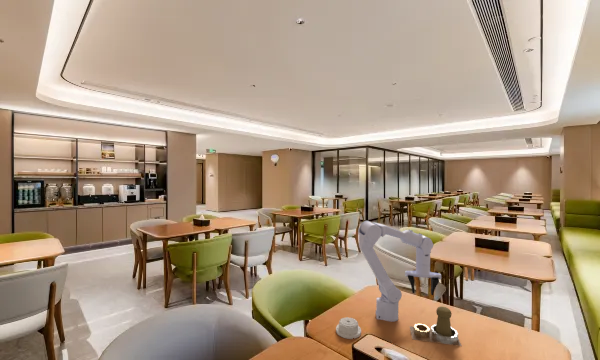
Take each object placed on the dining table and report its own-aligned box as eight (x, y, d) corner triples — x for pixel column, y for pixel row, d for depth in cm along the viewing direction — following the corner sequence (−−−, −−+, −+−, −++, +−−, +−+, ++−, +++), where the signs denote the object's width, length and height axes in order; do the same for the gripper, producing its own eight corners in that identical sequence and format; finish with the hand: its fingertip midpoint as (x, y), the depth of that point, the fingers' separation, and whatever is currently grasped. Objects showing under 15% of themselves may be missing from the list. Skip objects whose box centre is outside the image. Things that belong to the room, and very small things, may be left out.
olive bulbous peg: (455, 341, 107) (455, 312, 107) (438, 340, 108) (438, 311, 107) (448, 331, 113) (448, 304, 113) (432, 331, 114) (432, 304, 113)
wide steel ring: (433, 342, 107) (433, 335, 107) (429, 328, 116) (429, 322, 115) (460, 345, 104) (460, 339, 104) (453, 331, 113) (454, 325, 113)
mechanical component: (366, 332, 115) (345, 322, 123) (366, 321, 115) (345, 312, 122) (351, 343, 108) (331, 332, 116) (351, 331, 108) (331, 321, 115)
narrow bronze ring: (415, 337, 110) (415, 330, 110) (413, 328, 115) (413, 322, 115) (430, 339, 109) (430, 332, 108) (428, 330, 114) (428, 324, 114)
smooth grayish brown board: (412, 341, 109) (412, 339, 109) (409, 328, 117) (409, 326, 117) (461, 348, 104) (461, 346, 104) (455, 334, 113) (455, 332, 113)
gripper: (438, 261, 128) (438, 291, 128) (404, 258, 131) (404, 287, 132) (442, 266, 121) (442, 298, 122) (406, 264, 124) (405, 294, 125)
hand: (422, 293), depth 126 cm, fingers open, 7 cm apart
